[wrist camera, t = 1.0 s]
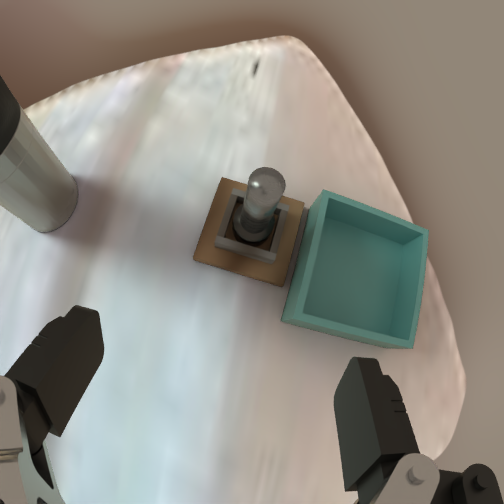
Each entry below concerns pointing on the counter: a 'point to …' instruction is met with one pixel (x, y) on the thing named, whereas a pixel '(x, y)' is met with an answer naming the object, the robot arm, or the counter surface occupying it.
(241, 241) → the tube
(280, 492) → the counter surface
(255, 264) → the square framed wooden base
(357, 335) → the bin
